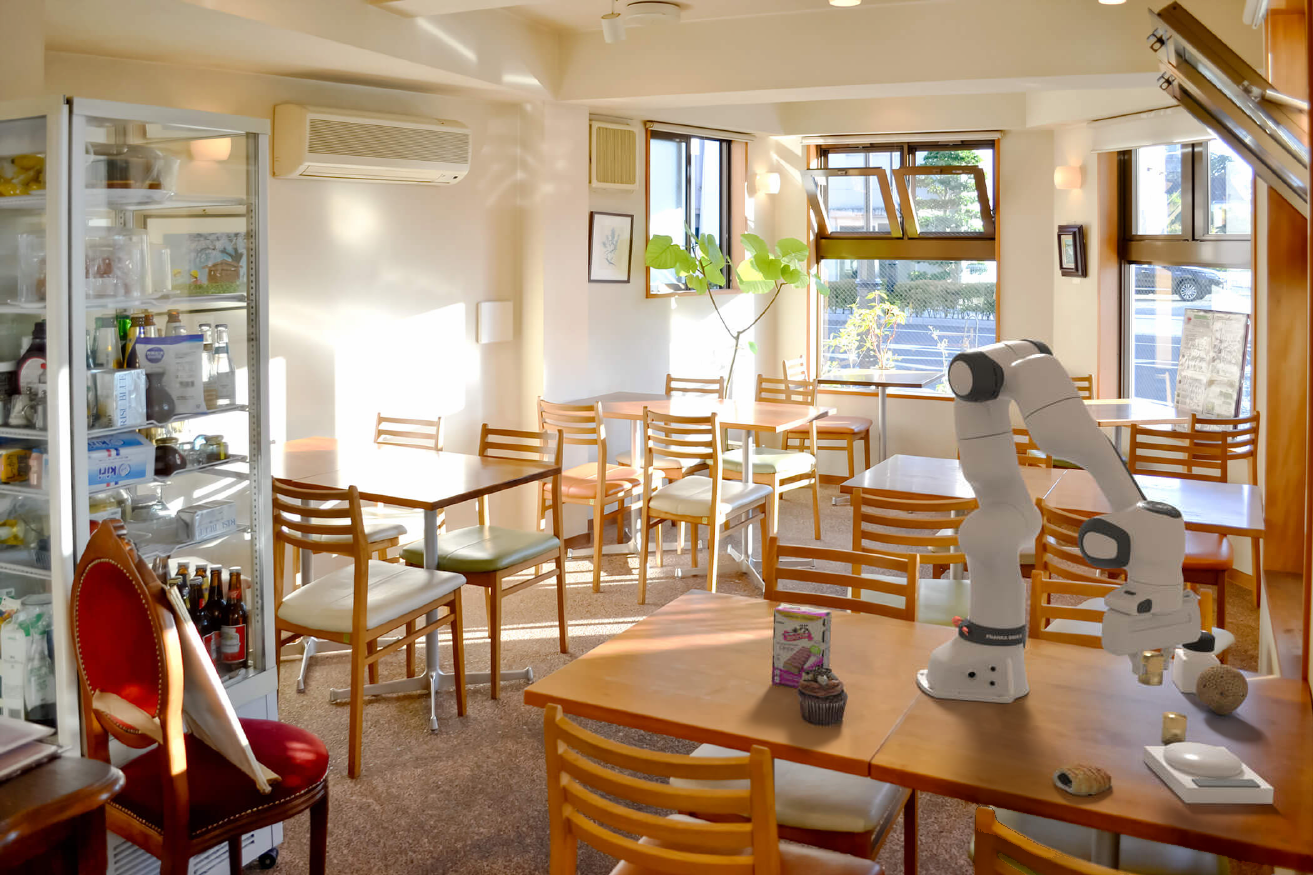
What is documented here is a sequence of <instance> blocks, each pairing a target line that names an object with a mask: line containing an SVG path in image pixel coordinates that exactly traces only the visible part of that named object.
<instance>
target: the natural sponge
mask: <svg viewBox="0 0 1313 875" xmlns="http://www.w3.org/2000/svg"><path fill="white" fill-rule="evenodd" d="M1195 694H1196V696H1197V697H1198V700H1199V701H1200V702H1202V703H1203V705H1206V706H1207V707H1209V708H1210V709H1212V711H1213V712H1214V713H1216V714H1218V715H1224V716H1226V715H1229V714H1231V713H1234V712H1235V711H1236V710H1238V709H1239V707H1240V706H1241V705H1243V703H1244V701H1245V700H1246V698H1247V696H1248V694H1249V684H1248V682H1247V679H1246V677H1245V675H1243V673H1242V672H1241V671H1240V670H1238V669H1237V668H1236V667H1234V666H1231V665H1228V664H1220V665H1214V666H1212V667H1209V668H1207V669H1205V670H1204V671H1203V672H1202V673H1201V674H1200V675H1199V677H1198V679H1197V682H1196V693H1195Z"/></svg>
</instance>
